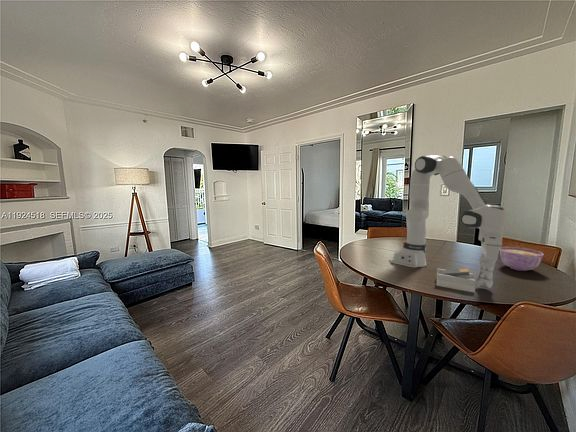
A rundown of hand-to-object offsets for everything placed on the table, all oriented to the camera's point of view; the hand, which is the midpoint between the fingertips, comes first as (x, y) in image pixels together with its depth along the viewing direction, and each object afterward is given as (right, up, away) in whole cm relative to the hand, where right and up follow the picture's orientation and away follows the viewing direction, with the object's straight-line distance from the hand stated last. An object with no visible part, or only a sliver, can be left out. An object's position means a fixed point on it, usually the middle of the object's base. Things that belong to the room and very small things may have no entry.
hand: (486, 264), depth 119 cm
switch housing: (-11, -12, +8) cm, 18 cm away
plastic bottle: (0, -12, +2) cm, 12 cm away
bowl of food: (+45, -9, +30) cm, 54 cm away
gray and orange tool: (-11, -6, +7) cm, 15 cm away
